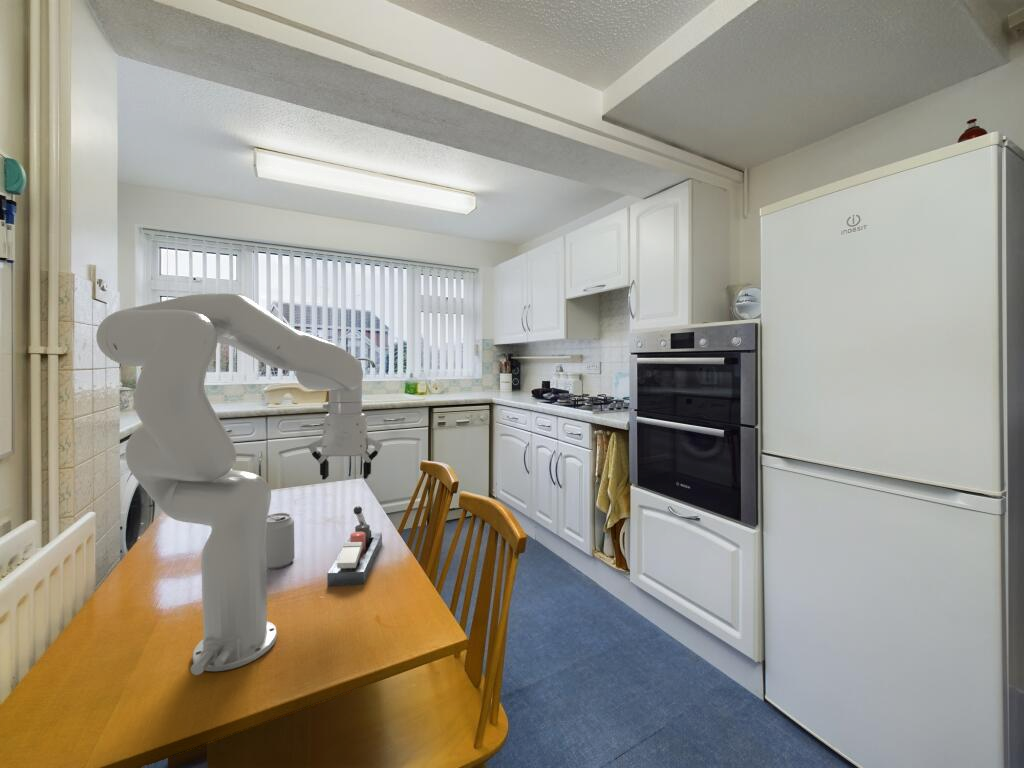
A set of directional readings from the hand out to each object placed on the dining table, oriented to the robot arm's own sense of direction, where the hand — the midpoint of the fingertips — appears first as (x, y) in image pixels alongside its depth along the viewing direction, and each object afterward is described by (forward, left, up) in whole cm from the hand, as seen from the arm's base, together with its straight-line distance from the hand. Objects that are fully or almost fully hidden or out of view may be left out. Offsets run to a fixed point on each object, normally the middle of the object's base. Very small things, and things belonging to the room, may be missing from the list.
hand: (345, 477), depth 107 cm
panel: (+1, -3, -22) cm, 22 cm away
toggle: (+10, -3, -18) cm, 20 cm away
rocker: (-6, -3, -17) cm, 18 cm away
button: (+1, -3, -19) cm, 20 cm away
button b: (+6, -3, -19) cm, 21 cm away
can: (+2, +17, -22) cm, 28 cm away
